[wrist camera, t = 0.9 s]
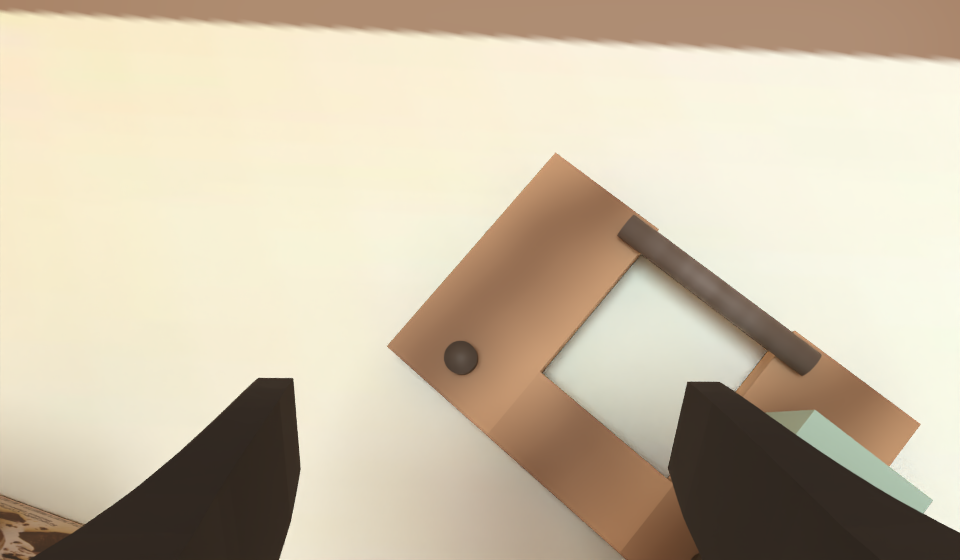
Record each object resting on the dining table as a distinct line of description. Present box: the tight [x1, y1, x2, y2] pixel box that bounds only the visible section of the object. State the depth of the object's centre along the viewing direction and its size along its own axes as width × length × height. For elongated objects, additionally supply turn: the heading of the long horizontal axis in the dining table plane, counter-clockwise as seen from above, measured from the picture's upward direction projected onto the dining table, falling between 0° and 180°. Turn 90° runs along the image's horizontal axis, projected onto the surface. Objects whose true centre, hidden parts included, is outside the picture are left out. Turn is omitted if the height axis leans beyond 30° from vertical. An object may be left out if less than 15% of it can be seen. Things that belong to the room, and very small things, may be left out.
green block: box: [766, 410, 933, 513], centre depth 20 cm, size 4×4×5 cm
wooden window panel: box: [387, 153, 921, 560], centre depth 24 cm, size 16×10×3 cm, turn 49°
